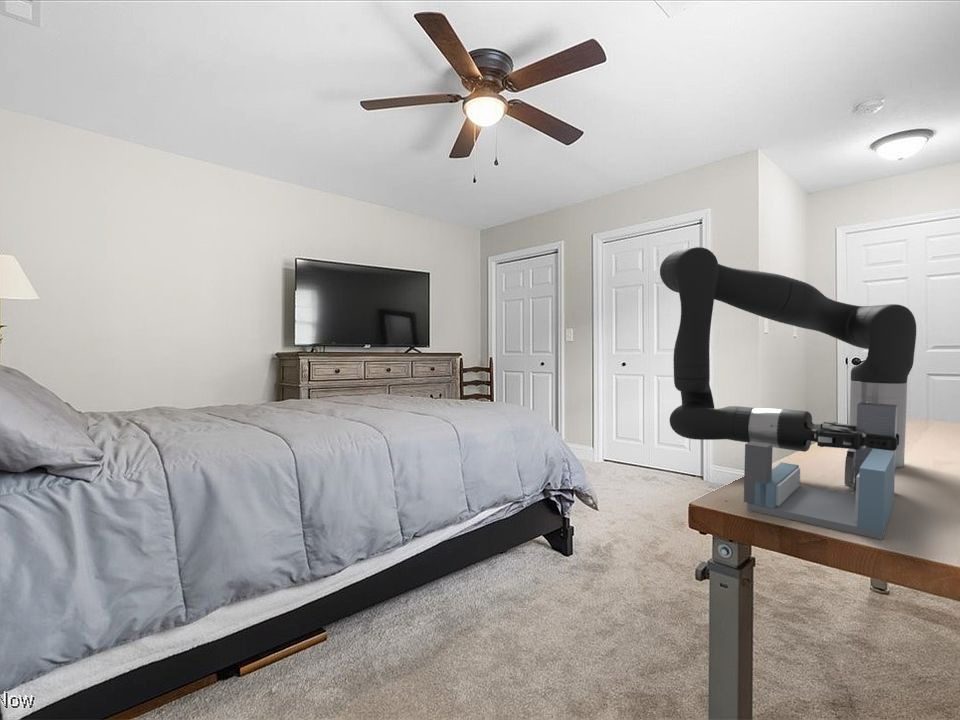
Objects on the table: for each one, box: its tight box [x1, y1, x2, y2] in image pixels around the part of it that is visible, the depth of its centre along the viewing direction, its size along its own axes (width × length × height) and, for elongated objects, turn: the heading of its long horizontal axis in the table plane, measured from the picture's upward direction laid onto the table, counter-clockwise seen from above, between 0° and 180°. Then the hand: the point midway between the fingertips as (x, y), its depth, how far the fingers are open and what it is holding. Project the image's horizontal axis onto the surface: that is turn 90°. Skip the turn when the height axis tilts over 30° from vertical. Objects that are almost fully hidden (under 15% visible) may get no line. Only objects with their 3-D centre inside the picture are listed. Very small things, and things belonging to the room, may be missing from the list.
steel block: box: [853, 402, 898, 495], centre depth 83 cm, size 4×5×15 cm
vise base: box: [746, 448, 895, 541], centre depth 74 cm, size 17×16×9 cm
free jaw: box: [743, 441, 801, 508], centre depth 78 cm, size 16×4×9 cm, turn 136°
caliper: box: [843, 450, 855, 486], centre depth 93 cm, size 20×1×6 cm, turn 133°
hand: (897, 441), depth 81 cm, fingers closed on steel block, 4 cm apart
